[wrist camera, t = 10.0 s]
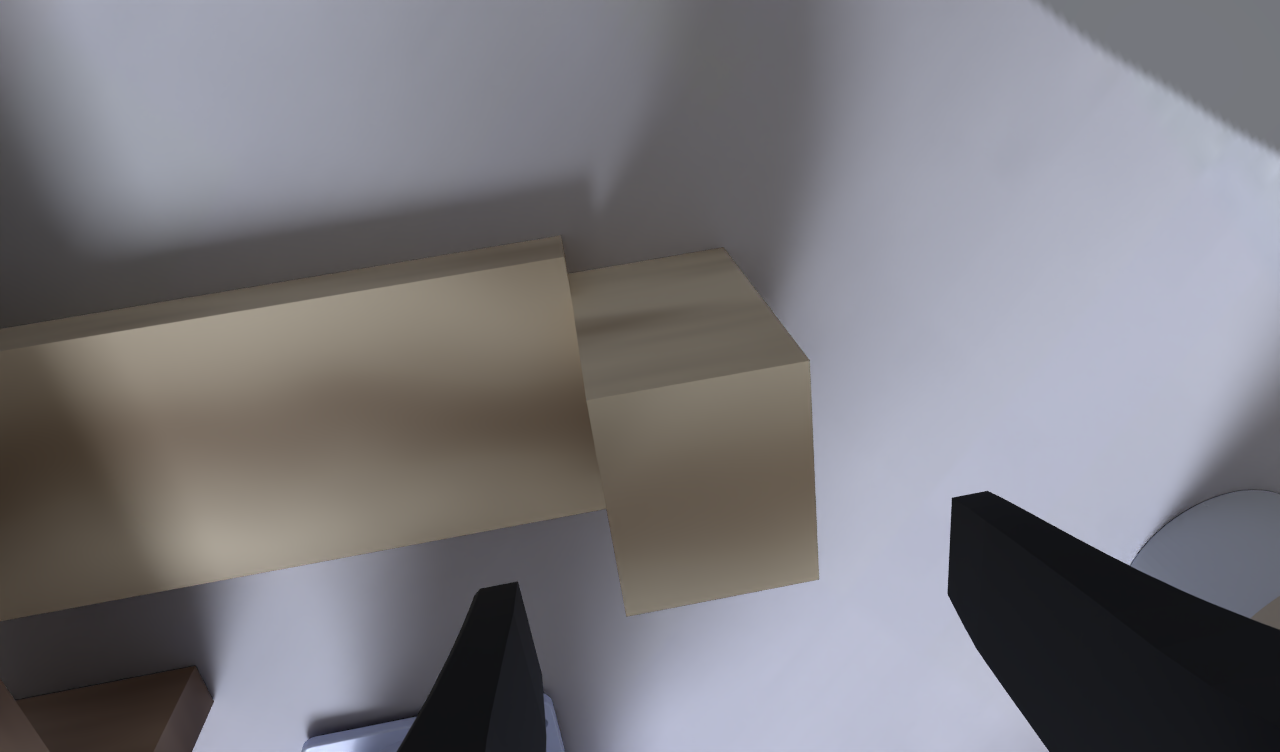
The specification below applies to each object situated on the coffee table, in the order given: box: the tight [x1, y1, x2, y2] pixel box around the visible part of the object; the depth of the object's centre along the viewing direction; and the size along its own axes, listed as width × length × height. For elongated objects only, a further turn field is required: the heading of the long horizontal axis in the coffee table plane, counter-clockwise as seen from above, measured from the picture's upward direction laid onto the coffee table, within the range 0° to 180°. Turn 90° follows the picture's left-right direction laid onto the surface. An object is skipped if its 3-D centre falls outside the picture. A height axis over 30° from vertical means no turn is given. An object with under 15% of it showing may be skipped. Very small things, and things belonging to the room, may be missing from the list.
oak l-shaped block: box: [0, 235, 819, 621], centre depth 18 cm, size 7×20×7 cm, turn 97°
